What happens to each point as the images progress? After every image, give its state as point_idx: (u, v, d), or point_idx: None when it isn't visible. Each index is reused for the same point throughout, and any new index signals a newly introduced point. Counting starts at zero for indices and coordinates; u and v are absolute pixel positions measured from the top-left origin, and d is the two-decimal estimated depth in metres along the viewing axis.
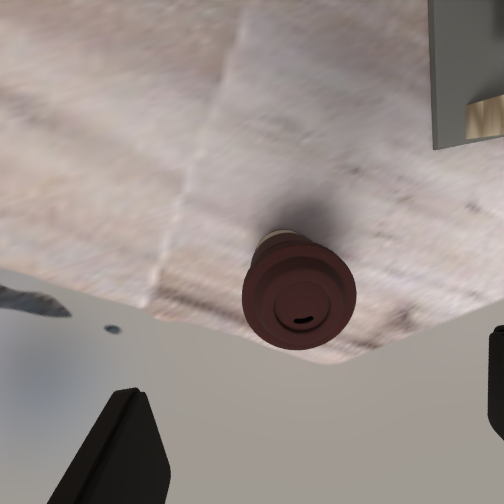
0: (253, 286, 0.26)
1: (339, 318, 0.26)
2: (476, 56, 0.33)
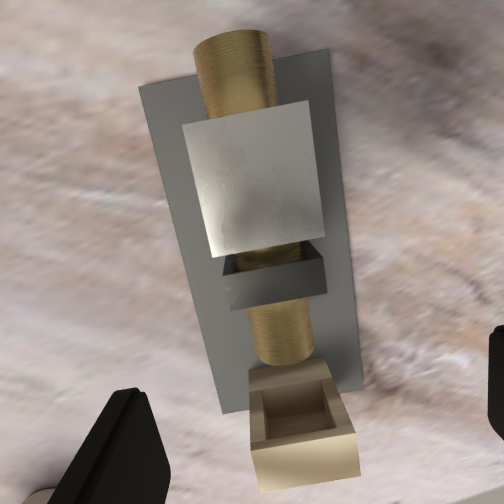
0: None
1: None
2: None
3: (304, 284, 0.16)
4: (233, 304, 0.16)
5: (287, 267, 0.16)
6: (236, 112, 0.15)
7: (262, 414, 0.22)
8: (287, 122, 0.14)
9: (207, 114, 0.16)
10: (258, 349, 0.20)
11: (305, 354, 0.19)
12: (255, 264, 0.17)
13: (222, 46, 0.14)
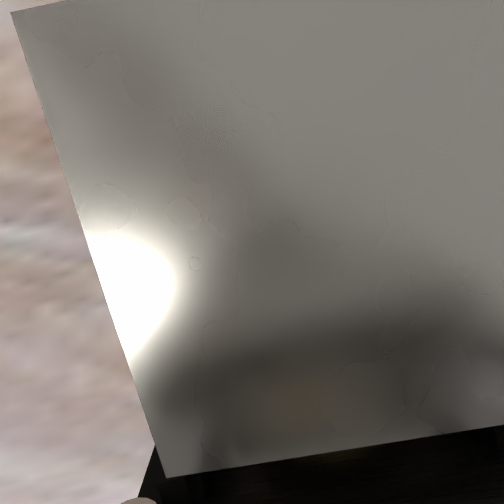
0: None
1: None
2: None
3: None
4: None
5: None
6: None
7: None
8: (469, 3, 0.03)
9: None
10: None
11: None
12: (301, 484, 0.05)
13: None
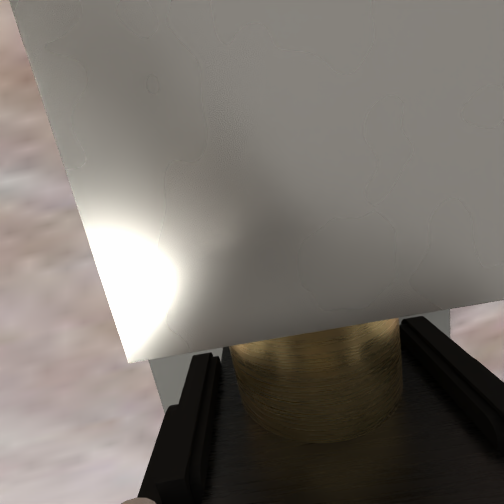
0: None
1: None
2: None
3: None
4: None
5: None
6: None
7: None
8: None
9: None
10: None
11: None
12: (301, 482, 0.05)
13: None
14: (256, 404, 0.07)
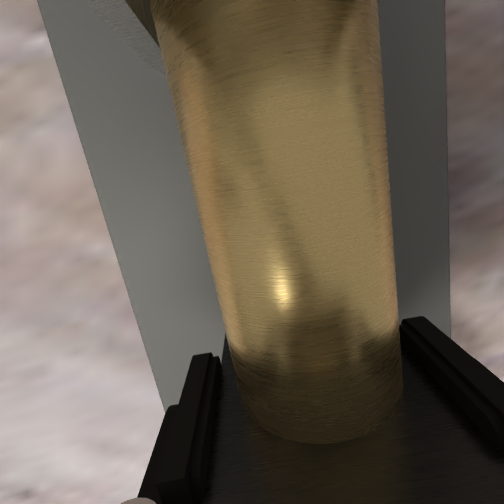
0: None
1: None
2: None
3: None
4: None
5: None
6: None
7: None
8: None
9: (156, 23, 0.05)
10: None
11: None
12: (300, 483, 0.05)
13: None
14: (255, 404, 0.07)
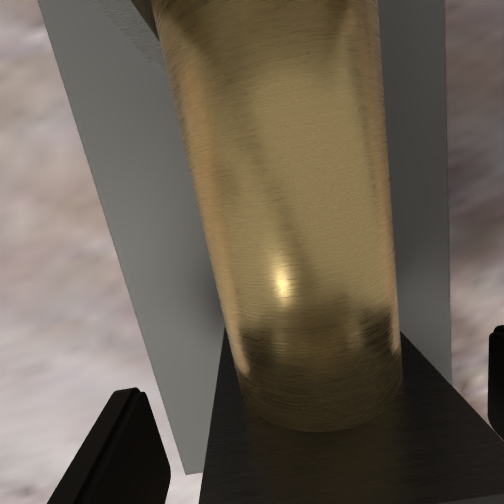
0: None
1: None
2: None
3: None
4: None
5: None
6: None
7: None
8: None
9: (154, 8, 0.05)
10: None
11: None
12: (300, 470, 0.05)
13: None
14: (255, 393, 0.07)
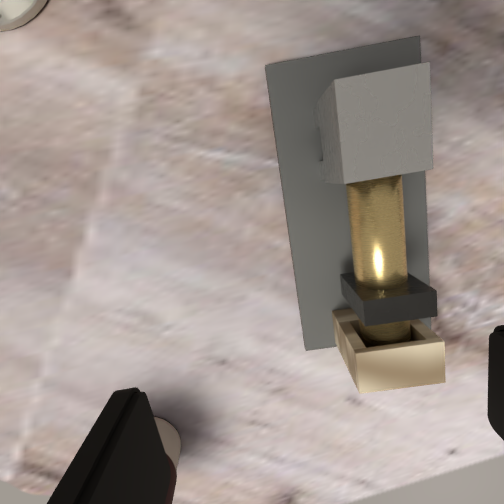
0: None
1: None
2: (338, 265, 0.31)
3: (421, 309, 0.22)
4: (368, 321, 0.23)
5: (410, 296, 0.22)
6: (378, 189, 0.22)
7: (356, 334, 0.27)
8: (412, 78, 0.19)
9: (351, 186, 0.23)
10: None
11: None
12: (383, 293, 0.23)
13: None
14: (367, 281, 0.24)
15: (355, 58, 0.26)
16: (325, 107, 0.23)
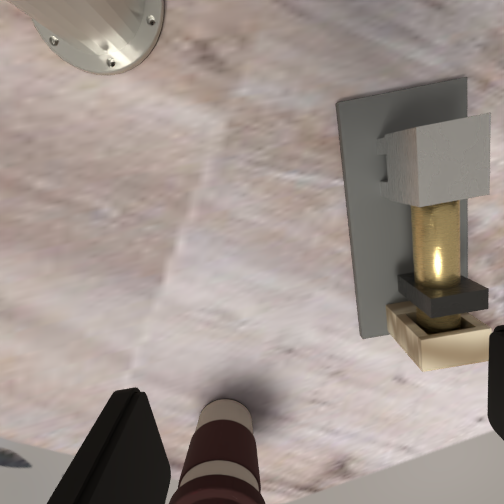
0: None
1: None
2: (392, 267, 0.36)
3: (475, 303, 0.28)
4: (433, 314, 0.29)
5: (467, 294, 0.28)
6: (443, 209, 0.28)
7: (415, 324, 0.32)
8: (476, 125, 0.25)
9: None
10: None
11: None
12: (444, 291, 0.29)
13: None
14: (428, 282, 0.30)
15: (413, 96, 0.32)
16: (398, 143, 0.28)
